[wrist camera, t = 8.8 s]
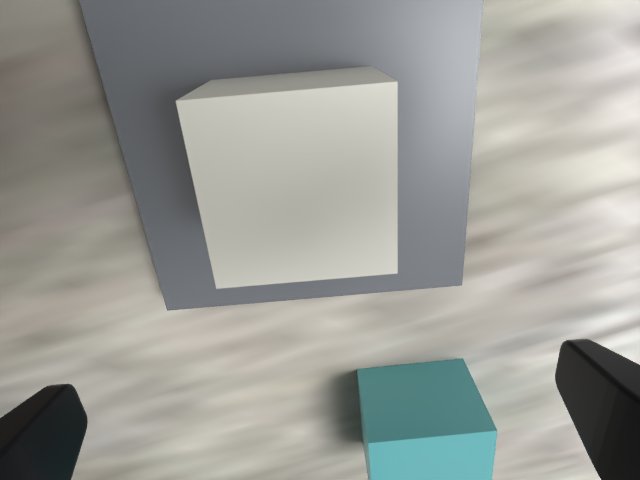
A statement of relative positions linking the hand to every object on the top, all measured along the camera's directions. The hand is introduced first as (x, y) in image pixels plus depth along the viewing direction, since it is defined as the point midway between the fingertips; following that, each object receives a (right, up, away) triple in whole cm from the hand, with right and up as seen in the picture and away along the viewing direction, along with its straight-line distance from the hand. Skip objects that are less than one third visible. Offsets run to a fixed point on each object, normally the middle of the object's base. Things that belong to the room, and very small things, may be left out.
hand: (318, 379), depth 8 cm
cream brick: (-1, +6, +9) cm, 11 cm away
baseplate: (-1, +7, +11) cm, 13 cm away
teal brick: (+5, -7, +18) cm, 20 cm away
